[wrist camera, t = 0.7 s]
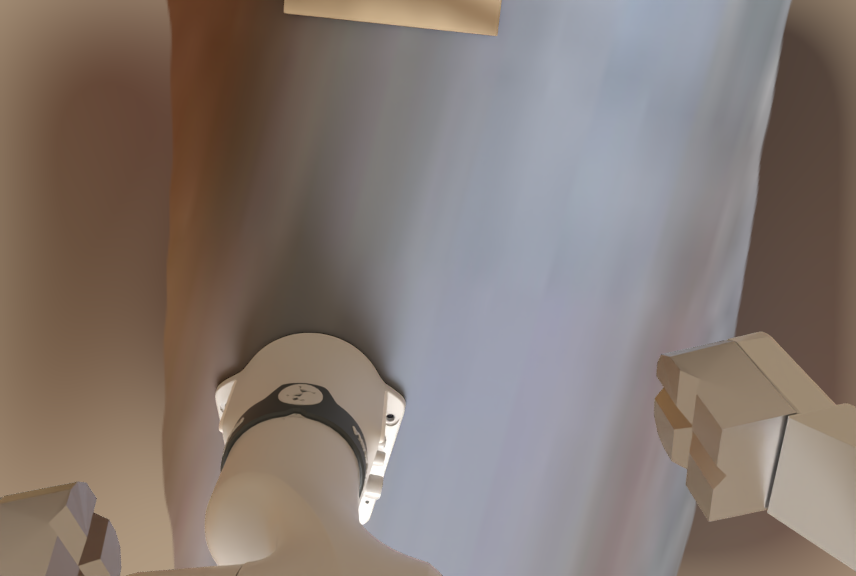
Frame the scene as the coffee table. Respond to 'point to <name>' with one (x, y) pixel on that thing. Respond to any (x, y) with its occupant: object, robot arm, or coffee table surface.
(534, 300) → the coffee table surface
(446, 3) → the board
